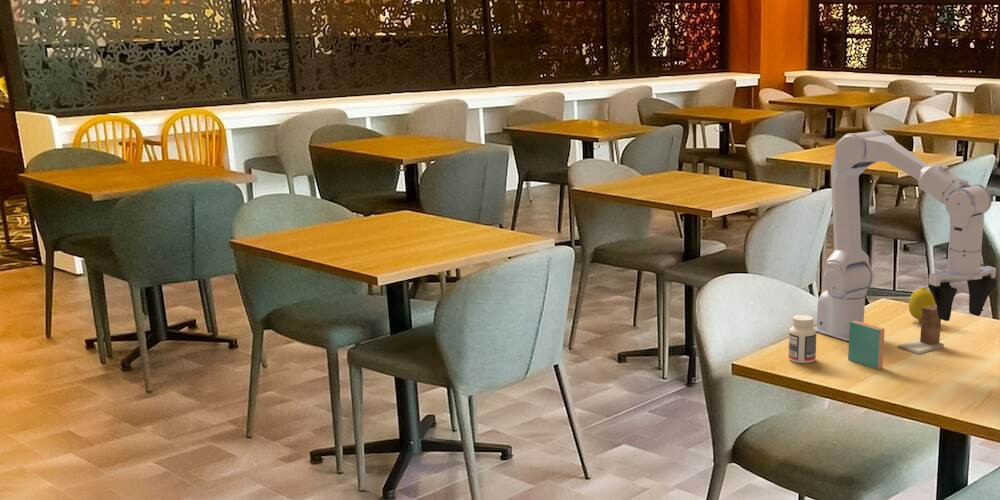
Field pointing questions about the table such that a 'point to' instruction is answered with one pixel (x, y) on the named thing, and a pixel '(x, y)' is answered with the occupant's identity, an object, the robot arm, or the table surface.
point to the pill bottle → (802, 340)
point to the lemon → (920, 302)
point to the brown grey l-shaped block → (926, 333)
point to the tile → (866, 344)
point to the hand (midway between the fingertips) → (959, 317)
